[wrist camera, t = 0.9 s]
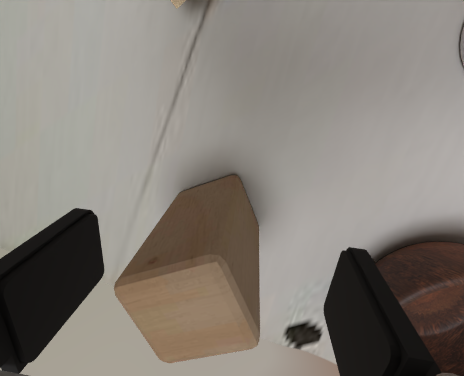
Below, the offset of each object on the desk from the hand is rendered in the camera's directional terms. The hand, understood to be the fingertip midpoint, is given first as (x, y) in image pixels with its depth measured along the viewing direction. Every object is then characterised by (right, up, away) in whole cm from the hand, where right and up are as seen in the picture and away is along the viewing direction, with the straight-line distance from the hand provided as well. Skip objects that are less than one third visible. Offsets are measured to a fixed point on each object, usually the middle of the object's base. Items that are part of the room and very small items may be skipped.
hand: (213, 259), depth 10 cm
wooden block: (-1, -1, +30) cm, 30 cm away
